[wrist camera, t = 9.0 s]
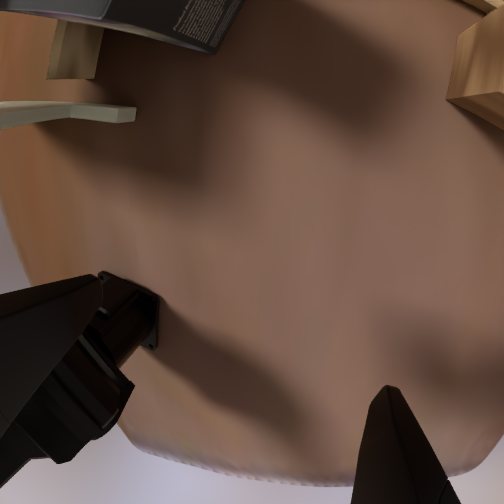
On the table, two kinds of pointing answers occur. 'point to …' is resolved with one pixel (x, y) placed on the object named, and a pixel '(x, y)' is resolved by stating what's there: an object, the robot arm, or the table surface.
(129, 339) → the robot arm
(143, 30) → the small box
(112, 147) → the table surface
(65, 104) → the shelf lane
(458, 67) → the wooden block with bar
